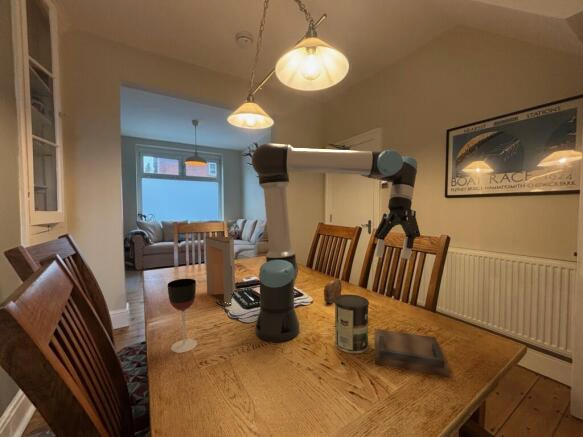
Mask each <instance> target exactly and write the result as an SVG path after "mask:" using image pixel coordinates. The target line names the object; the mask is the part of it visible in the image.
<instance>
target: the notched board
mask: <svg viewBox="0 0 583 437" xmlns="http://www.w3.org/2000/svg"><path fill="white" fill-rule="evenodd" d="M374 365H379V366H386V367H390V368H396V369H403V370H407V371H413V372H419V373H425V374H430V375H434V376H435V375H436V376H441V377H446V378H450V377H451V376H450V374H451V369H450V366H449V364H448V362H447V360H446V358H445V356H444V353H443V351H442V348H441V347H440V343H439V342H438V339H437V337H436V336H430V335H429V336H428V335H423V334H422V335H421V334H414V333H409V332H401V331H394V330H386V329H379V328H374Z"/></svg>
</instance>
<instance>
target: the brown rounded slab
mask: <svg viewBox="0 0 583 437" xmlns="http://www.w3.org/2000/svg"><path fill="white" fill-rule="evenodd" d="M341 293H342V282H341V280H340V279H331V281H329V282H328V283H327V284H325V286H324V288H323V299H324V302H325V303H326V304H327V303H328V304H331V305H332V304H333V303H334V304H335V298H336V297H337V296H340V295H342V294H341Z"/></svg>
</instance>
